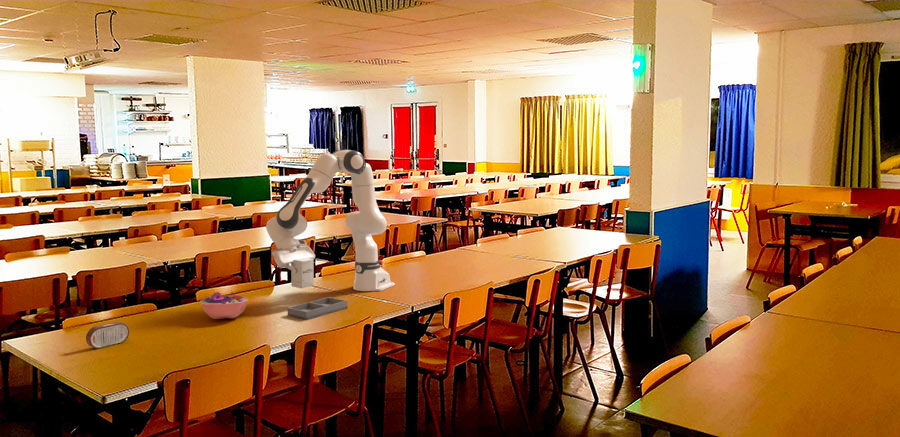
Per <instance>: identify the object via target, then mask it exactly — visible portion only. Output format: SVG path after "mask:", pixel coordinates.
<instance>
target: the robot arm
mask: <svg viewBox="0 0 900 437" xmlns="http://www.w3.org/2000/svg"><path fill="white" fill-rule="evenodd" d="M365 160H366V159H365V158H364V156H363V154H362V153H361V152H359V151H356V150H351V149H342V150H341V149H340V150H335V151H333V152H332V153H331V152H330V153H329V152H323V153H322V154H320V155H319V157H318V158H317V159H316V161H315V162H314V164H313V165H312V167H311V169H310V170H309V172H308V174H307V175H306V177H304V179H303V180H302V181H301V182H300V183H299V185H298V186H297V188H296V189H295V191H294V192H293V194H292V195H291V196H290V198H289V200H288V201H287V202H286V203H285V204H284V205H283V206H282V207H281V208H280V209H279V210H278V211H277V214H276V216H273V217H271V218H269V220H268V221H267V222H266V225H265V229H266V232H267V234H268V236H269V238H270V239H271V241H272V242H273V243H274V244H275V246H276V249H273V250H272V252H271V255H272V257H273V259H274V262H275V263H276V266H277V267H278V268H280V269H282V268H287V269H288V270H290V271H292V272H293V273H297V272H298V270H297V269H296V268H294V267H293V266H292V264H291V263H293V262H294V261H293V260H294V259H299V258H310V259H313V261H314V260H315V258H316V254H315V253H314V251H313V250H312V248H311V247H310V246H309V245H307V244H308V243H307V241H306V240H304V239H303V240H302V239H299V238H298V239H297V238H295V237H298V236H299V235H301V234H303V233H304V232H305V231H306V230H307V227H308V220H307V218H306V217H305V216H303V215H302V214H301V213H300V211H301V208H302V206H303V205H304V204H305V202H306V200H307V199H308V198H309V196H310V195H313V194H320V193H323V192H325V191H326V190H327V189H328V188H329V186H330V185H331V183H332V181H333V179H334V177H335V175H336V174H337V173H342V174H343V173H344V174H349V175H350V177H351V194H352V202H354V204H355V205H356V206H357V208H358V211H357V210H356V211H352V212H349V213H347V215H346V217H345V220H344V221H345V226H346V228H347V229H348V230H349V233H350V234H351V236H352V239H353V243H354V248H355V251H354V252H355V261H354V269H355V271H354V272H355V273H354V282H353V286H352V287H353V290H355V291H358V292H375V291H376V292H380V291H384V290H386V289H389V288H391V287H393V286H395V285H396V284H395V282H393V281H391V276H390V273H388V271H386V270H385V269H383V267H381V265H384V263H385V261H384V260H381V259H380V260H379V255H378V245H377V243H376V242H375V240H374V238H373V236H376V235H381V234H383V233H384V232H385V231H386V229H387V226H388V222H387V219H386V218H385V216H384V215H383V214H382V212H381V211H380V209H379V206H378V203H377V198H376V191H375V181H374V180H375V179H374V174H373V170H372V167H371V165H370V164H369V163H367V162H366V161H365Z"/></svg>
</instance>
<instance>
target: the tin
mask: <svg viewBox="0 0 900 437" xmlns="http://www.w3.org/2000/svg"><path fill="white" fill-rule="evenodd" d="M129 336H130V327H129V326H128V325H127V324H126V323H124V322H123V321H113V322H108V323H102V324H97V325H94V326H93V327H91V328H90V329H89V330H88V331H87V333H86V336H85V341H86V343H87V346H89V347H90V348H94V349H97V348H99V349H103V348H102V347H104V348H107V347H106V346H108V347H111V346H110V345H112V346H114V345H113V344H117V345H119V344H118V343H121V344H123V343H124V342H125V341H126V340H127V339H128V338H129ZM122 342H123V343H122Z"/></svg>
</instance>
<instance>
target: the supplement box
mask: <svg viewBox="0 0 900 437" xmlns="http://www.w3.org/2000/svg"><path fill="white" fill-rule="evenodd" d="M293 261H294V262H293V263H291V264H292V266H293V267H294V268H296V269H297V270H298V272H297V273H293V272H292V271H291V270H290V271H291V272H290V274H291V275H290V276H291V278H290V280H291V281H290V282H291V287H293V288H298V289H300V290H301V289H306V288H309V287H314V286H315V283H314V282H315V280H314V277H315V276H314V268H315V266H314V260H313V259H310V258H299V259H294V260H293Z"/></svg>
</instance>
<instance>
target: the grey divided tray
mask: <svg viewBox="0 0 900 437" xmlns="http://www.w3.org/2000/svg"><path fill="white" fill-rule="evenodd" d="M347 309H348V300H345V299H339V298H335V297H331V296H327V297H323V298H319V299H315V300H312V301H308V302H303V303H300V304H297V305H292V306H289V307H287V317H292V318H296V319H300V320H305V321H308V320H311V319H316V318H319V317H322V316H325V315H326V316H327V315H329V314H334V313H336V312H339V311H342V310H347Z"/></svg>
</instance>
